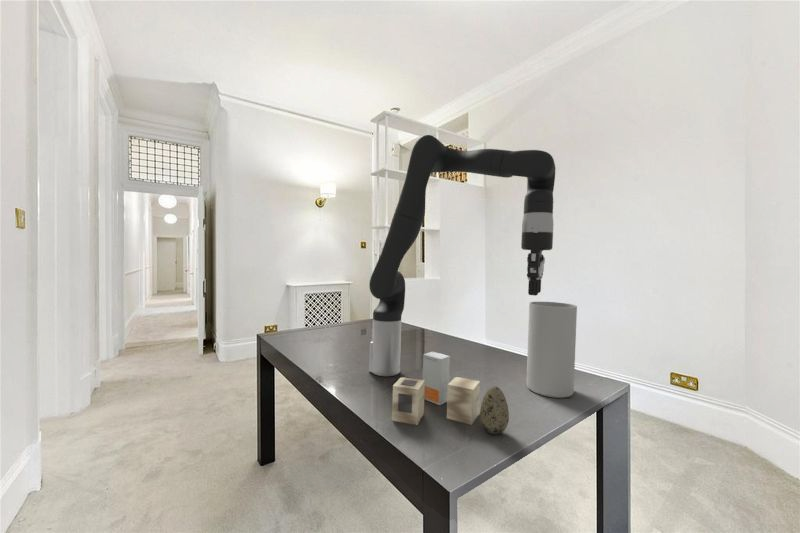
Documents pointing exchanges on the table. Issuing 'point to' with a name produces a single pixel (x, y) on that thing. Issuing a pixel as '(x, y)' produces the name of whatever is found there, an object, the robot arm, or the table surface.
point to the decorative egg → (494, 411)
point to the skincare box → (436, 377)
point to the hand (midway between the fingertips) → (534, 293)
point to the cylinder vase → (551, 348)
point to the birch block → (463, 400)
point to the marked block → (408, 400)
